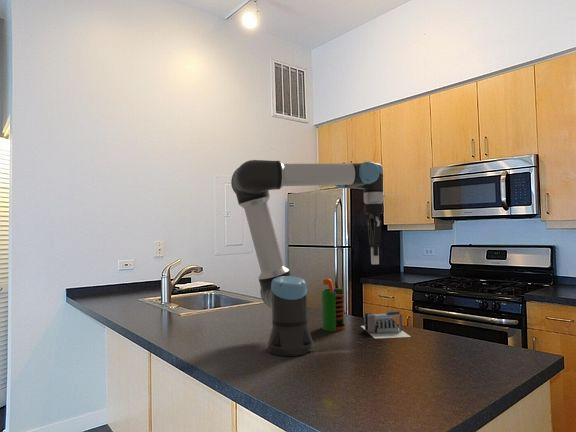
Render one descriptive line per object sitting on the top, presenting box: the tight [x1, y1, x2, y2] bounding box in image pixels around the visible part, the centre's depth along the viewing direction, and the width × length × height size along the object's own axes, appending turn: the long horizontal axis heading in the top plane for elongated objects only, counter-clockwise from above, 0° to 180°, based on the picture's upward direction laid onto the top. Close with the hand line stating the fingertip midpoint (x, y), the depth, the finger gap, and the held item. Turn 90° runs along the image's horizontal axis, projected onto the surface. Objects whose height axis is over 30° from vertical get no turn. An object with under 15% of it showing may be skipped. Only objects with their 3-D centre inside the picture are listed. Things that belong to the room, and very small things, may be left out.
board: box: [360, 325, 412, 339], centre depth 153 cm, size 19×13×1 cm
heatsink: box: [375, 317, 399, 334], centre depth 153 cm, size 8×8×4 cm
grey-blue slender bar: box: [366, 309, 401, 318], centre depth 153 cm, size 3×12×2 cm, turn 95°
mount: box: [363, 312, 403, 335], centre depth 153 cm, size 5×13×6 cm, turn 95°
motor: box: [321, 278, 346, 333], centre depth 159 cm, size 10×9×20 cm
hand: (375, 264), depth 159 cm, fingers closed
